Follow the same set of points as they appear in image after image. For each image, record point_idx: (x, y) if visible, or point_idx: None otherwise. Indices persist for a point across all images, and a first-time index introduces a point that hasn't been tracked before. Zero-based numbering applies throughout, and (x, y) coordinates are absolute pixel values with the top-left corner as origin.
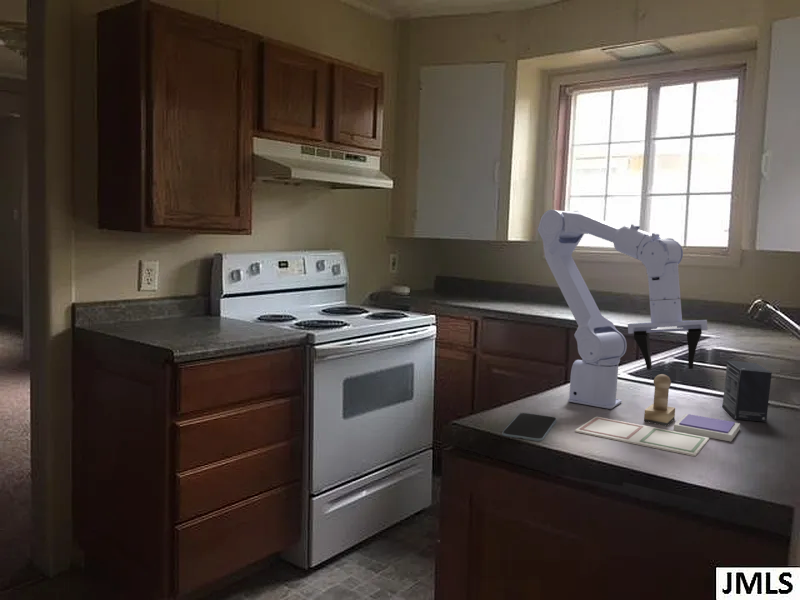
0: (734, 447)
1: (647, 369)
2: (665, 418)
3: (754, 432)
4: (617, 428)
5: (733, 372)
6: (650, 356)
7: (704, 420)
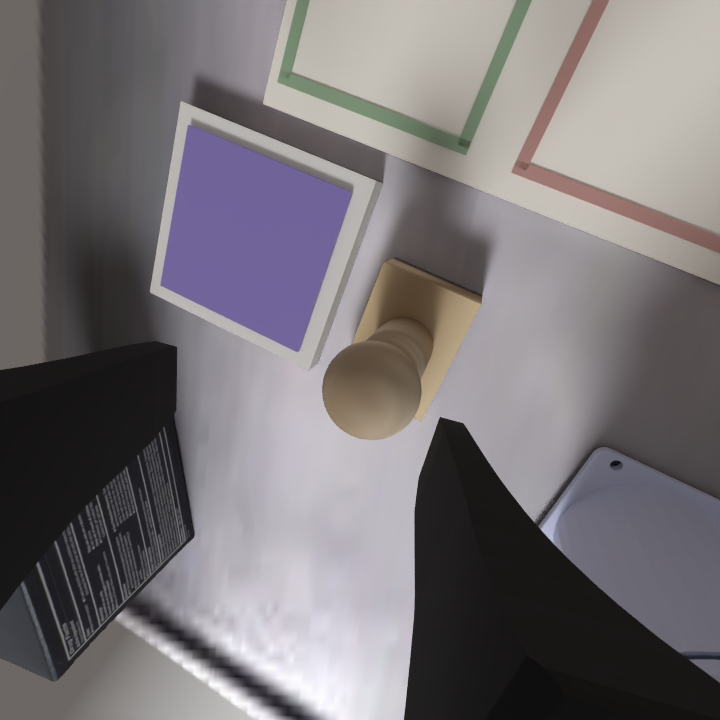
0: (193, 25)
1: (462, 424)
2: (397, 263)
3: (129, 272)
4: (668, 77)
5: (53, 561)
6: (416, 560)
7: (252, 272)
